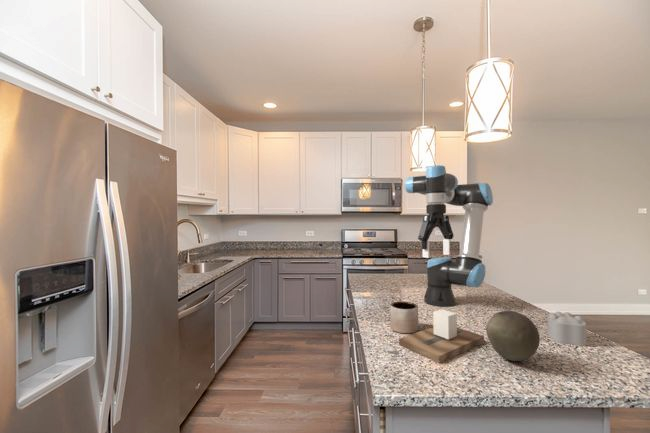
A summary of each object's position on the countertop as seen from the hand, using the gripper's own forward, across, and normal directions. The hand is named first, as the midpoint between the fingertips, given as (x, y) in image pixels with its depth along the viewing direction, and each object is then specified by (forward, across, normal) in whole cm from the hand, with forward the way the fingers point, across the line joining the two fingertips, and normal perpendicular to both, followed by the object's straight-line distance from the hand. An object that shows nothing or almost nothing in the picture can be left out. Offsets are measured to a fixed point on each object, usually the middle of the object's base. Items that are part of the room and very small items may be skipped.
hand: (436, 256), depth 122 cm
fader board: (+29, -13, -11) cm, 33 cm away
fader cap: (+26, -11, -11) cm, 30 cm away
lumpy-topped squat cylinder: (+29, +28, -34) cm, 53 cm away
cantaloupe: (+29, -6, -31) cm, 43 cm away
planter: (+29, -13, +6) cm, 32 cm away
